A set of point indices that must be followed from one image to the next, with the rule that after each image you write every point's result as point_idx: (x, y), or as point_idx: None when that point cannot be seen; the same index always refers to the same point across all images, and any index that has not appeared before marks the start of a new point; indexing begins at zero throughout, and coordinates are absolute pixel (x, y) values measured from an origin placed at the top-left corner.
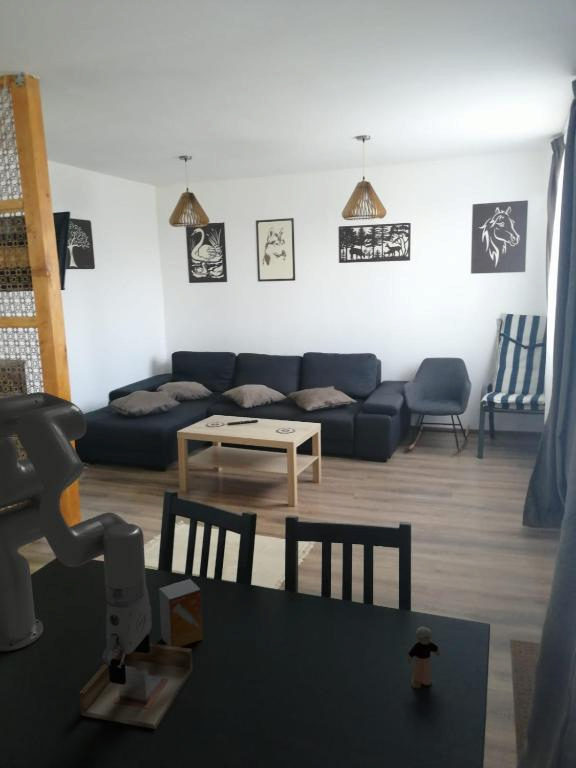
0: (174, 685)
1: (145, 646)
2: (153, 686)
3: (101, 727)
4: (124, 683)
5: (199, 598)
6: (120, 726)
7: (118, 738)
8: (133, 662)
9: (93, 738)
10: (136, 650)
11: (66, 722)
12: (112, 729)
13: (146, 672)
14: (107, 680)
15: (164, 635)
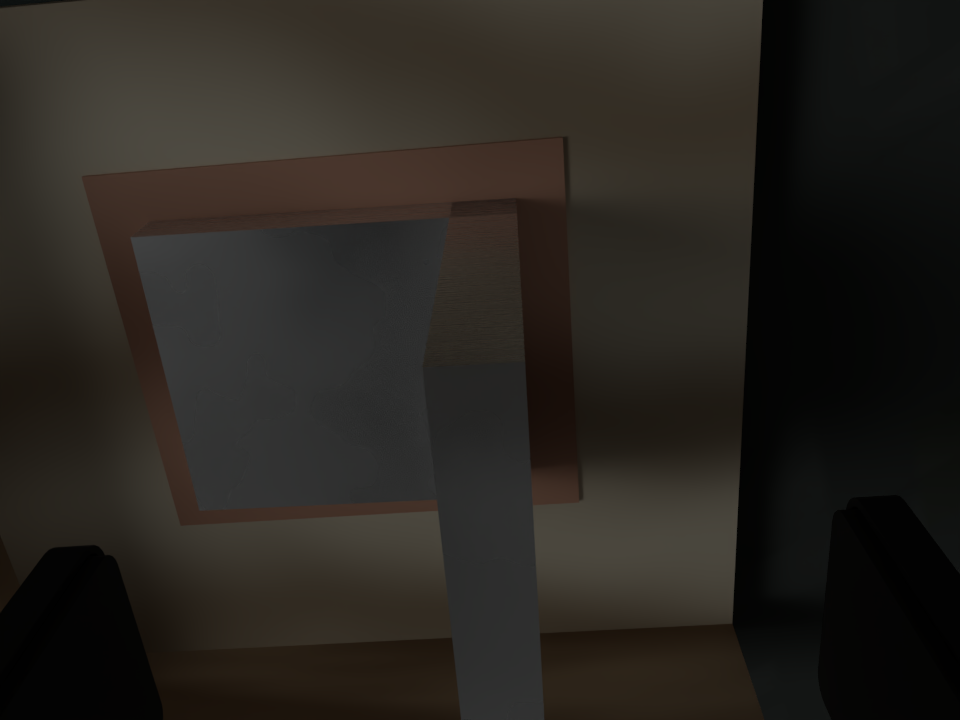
0: (131, 64)
1: (65, 663)
2: (295, 255)
3: (815, 434)
4: (902, 502)
5: None
6: (776, 295)
7: (923, 230)
8: None
9: (945, 424)
10: (153, 714)
11: (808, 676)
12: (823, 340)
13: (460, 349)
14: (393, 674)
15: None
